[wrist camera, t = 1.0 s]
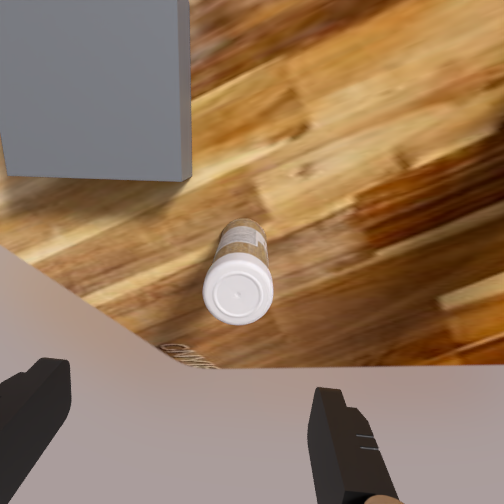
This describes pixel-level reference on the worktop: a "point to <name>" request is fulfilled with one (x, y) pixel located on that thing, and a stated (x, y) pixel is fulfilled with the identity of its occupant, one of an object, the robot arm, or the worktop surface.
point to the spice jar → (239, 275)
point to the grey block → (96, 89)
